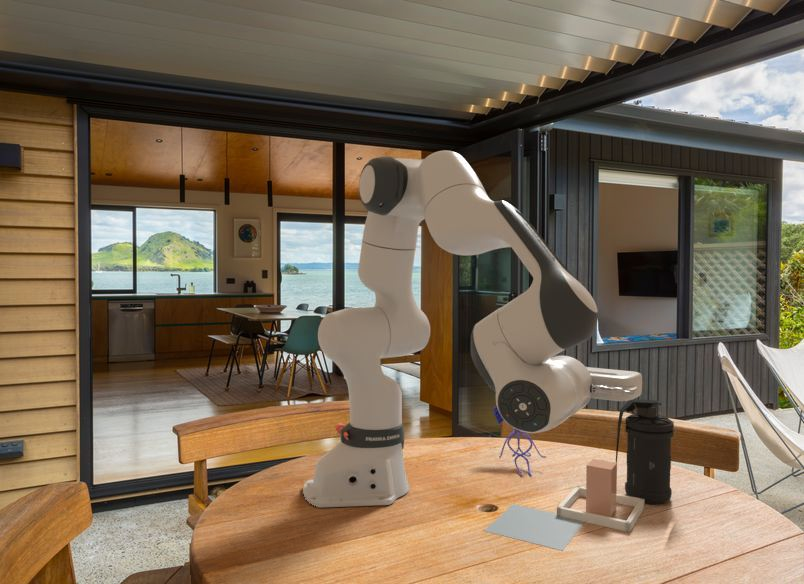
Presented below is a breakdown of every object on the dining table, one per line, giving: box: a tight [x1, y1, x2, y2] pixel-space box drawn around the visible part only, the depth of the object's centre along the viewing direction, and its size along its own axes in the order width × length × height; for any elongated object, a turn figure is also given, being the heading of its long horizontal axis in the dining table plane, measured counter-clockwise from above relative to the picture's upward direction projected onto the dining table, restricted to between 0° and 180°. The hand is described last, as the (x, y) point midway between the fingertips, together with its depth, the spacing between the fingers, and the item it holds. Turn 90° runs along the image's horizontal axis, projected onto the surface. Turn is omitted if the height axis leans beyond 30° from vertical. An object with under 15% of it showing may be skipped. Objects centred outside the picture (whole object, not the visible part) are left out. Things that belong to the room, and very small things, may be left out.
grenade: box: [615, 398, 675, 505], centre depth 125 cm, size 9×11×20 cm
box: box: [556, 485, 646, 533], centre depth 114 cm, size 13×13×3 cm
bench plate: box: [482, 503, 585, 551], centre depth 108 cm, size 14×14×2 cm
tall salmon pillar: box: [585, 458, 618, 518], centre depth 114 cm, size 4×4×10 cm
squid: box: [487, 405, 547, 477], centre depth 153 cm, size 14×35×18 cm
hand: (586, 372), depth 103 cm, fingers open, 8 cm apart
